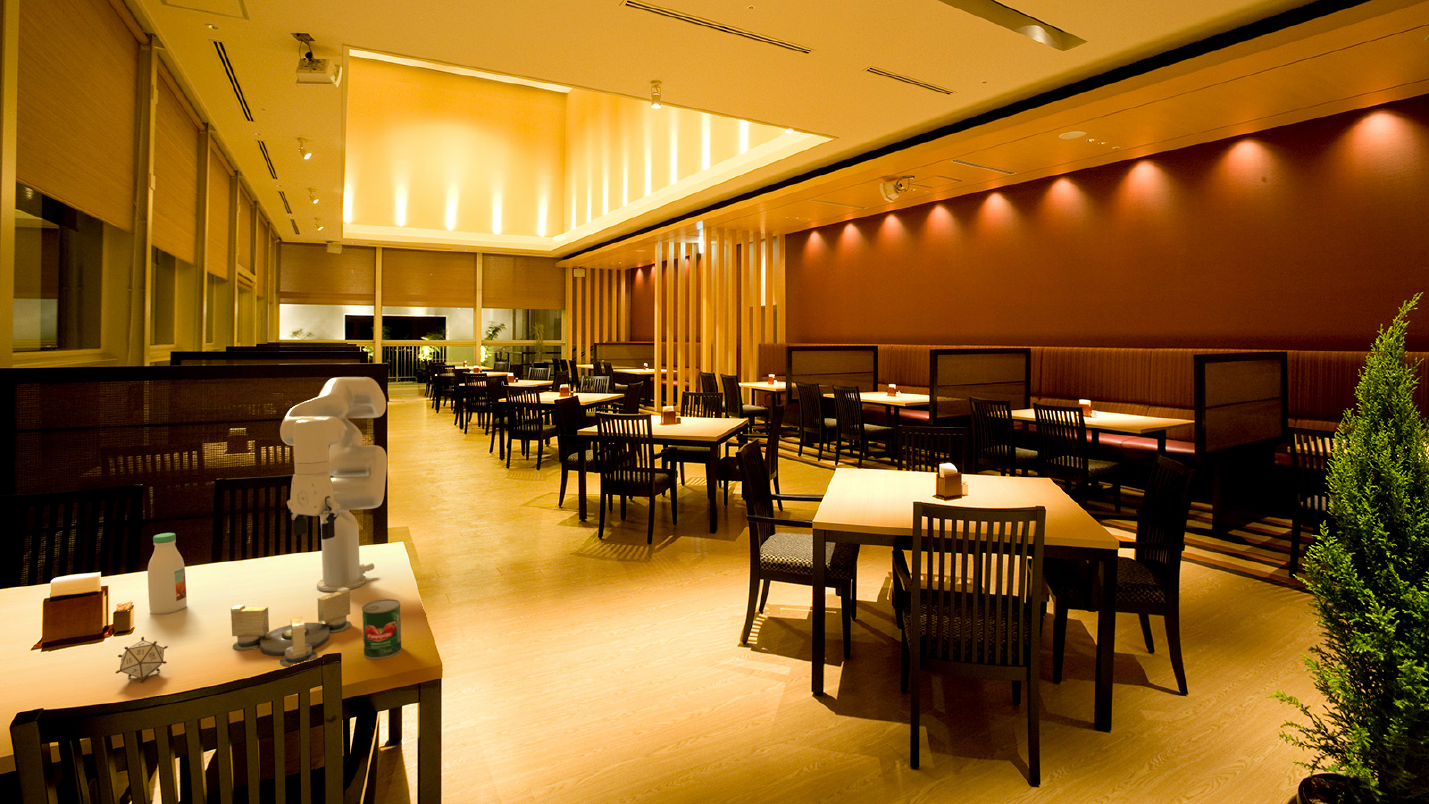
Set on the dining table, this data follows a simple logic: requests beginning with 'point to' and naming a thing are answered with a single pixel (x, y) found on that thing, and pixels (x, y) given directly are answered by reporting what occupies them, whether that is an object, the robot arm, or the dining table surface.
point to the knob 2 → (298, 642)
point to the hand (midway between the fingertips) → (314, 536)
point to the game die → (142, 659)
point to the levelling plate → (281, 640)
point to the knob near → (334, 608)
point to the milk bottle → (166, 576)
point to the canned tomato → (381, 628)
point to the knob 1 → (249, 624)
